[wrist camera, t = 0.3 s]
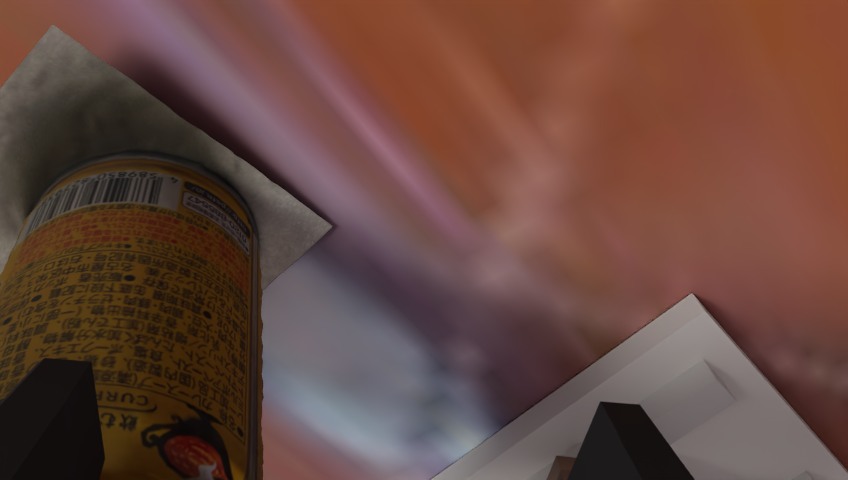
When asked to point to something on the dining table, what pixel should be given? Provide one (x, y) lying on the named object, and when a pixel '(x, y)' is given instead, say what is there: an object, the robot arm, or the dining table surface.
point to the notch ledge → (667, 410)
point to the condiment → (138, 264)
